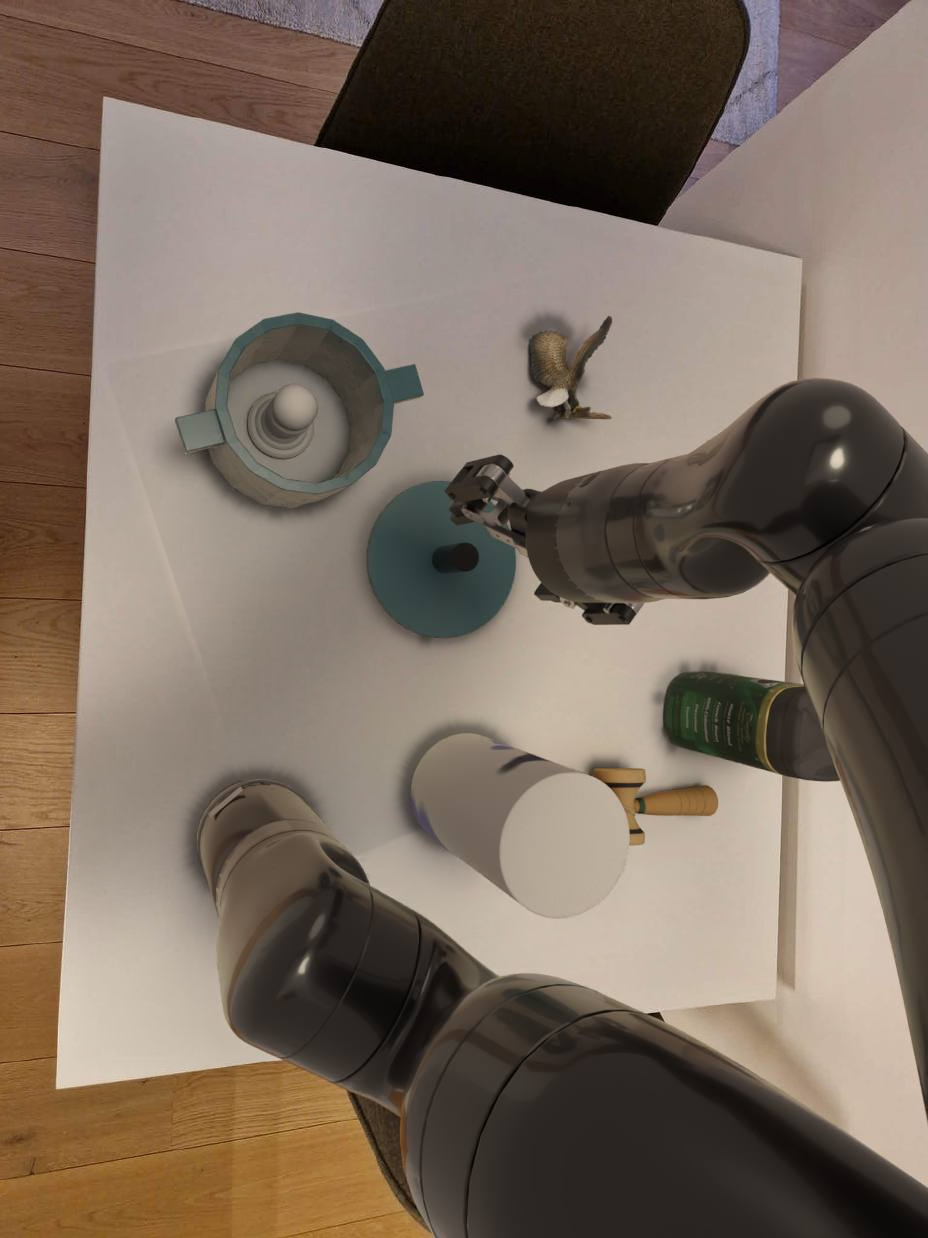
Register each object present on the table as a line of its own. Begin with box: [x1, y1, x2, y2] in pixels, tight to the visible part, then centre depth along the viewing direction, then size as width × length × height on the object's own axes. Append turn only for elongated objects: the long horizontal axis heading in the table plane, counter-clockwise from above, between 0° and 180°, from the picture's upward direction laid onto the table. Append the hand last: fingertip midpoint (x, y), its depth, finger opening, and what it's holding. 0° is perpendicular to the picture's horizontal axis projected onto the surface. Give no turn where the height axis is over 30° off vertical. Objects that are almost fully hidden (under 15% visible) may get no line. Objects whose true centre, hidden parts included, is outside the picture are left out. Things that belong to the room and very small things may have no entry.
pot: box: [174, 311, 425, 509], centre depth 67 cm, size 13×18×10 cm
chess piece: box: [246, 383, 319, 459], centre depth 68 cm, size 5×5×9 cm
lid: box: [366, 480, 517, 639], centre depth 75 cm, size 14×14×6 cm
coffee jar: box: [663, 671, 841, 783], centre depth 79 cm, size 10×8×19 cm
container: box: [410, 732, 630, 920], centre depth 69 cm, size 10×10×20 cm
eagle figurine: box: [528, 315, 613, 421], centre depth 79 cm, size 8×7×9 cm
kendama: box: [592, 767, 719, 847], centre depth 82 cm, size 8×6×18 cm
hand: (503, 549), depth 64 cm, fingers open, 8 cm apart
